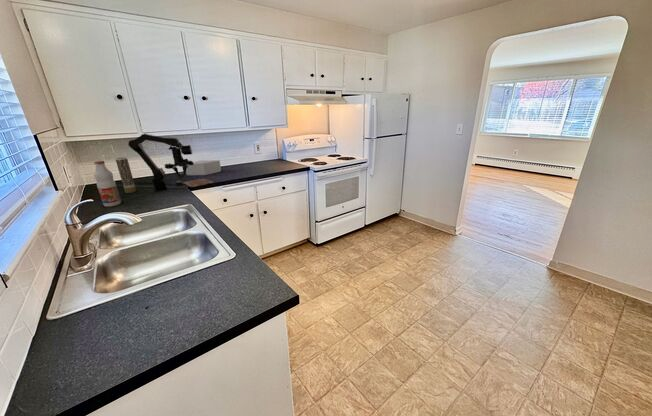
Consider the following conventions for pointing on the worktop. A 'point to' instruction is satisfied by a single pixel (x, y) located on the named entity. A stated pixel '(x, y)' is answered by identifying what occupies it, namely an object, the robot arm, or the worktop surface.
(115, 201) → the fruit juice
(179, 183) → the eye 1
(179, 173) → the eye
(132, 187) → the paper tube
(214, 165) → the block
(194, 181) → the face board
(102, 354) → the worktop surface
